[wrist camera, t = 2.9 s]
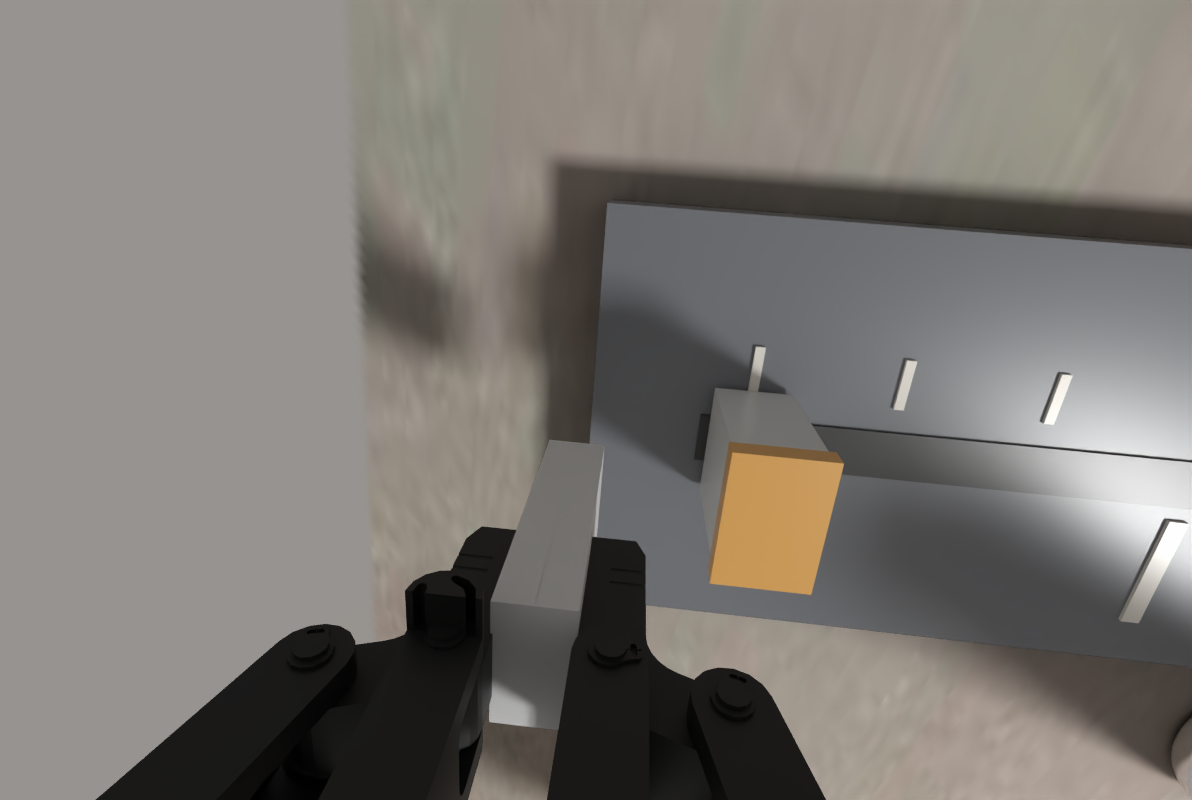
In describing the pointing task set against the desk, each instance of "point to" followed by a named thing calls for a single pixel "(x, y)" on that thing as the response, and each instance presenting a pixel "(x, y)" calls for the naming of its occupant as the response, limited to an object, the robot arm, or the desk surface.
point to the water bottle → (1183, 757)
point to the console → (915, 419)
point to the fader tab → (766, 492)
